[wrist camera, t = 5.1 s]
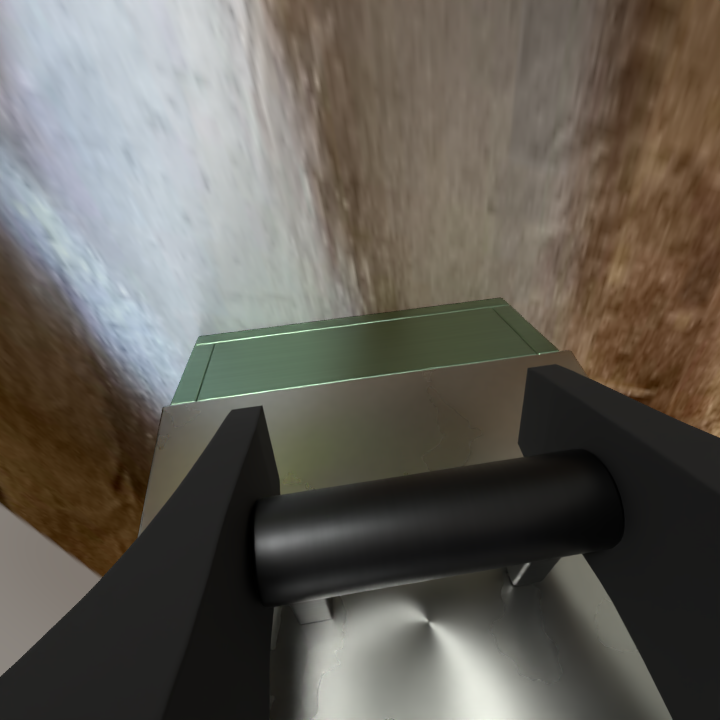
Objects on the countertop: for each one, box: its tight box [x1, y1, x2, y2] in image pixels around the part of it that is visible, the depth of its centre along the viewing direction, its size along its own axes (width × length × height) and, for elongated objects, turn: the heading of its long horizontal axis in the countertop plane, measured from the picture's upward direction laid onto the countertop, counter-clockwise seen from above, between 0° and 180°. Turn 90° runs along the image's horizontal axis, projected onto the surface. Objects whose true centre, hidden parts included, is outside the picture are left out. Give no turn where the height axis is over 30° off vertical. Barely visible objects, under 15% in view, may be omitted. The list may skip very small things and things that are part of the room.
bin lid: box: [138, 350, 673, 720], centre depth 8 cm, size 13×13×5 cm
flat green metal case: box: [171, 298, 559, 405], centre depth 19 cm, size 13×13×5 cm
